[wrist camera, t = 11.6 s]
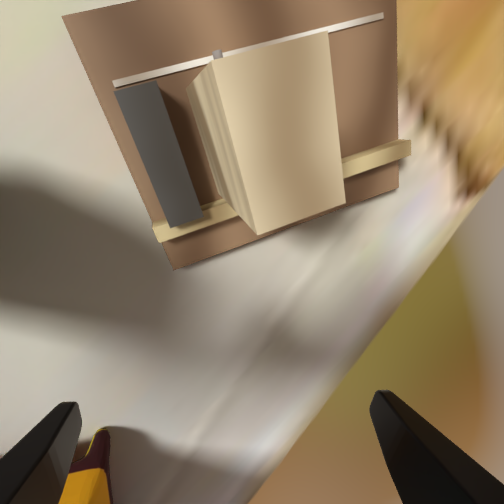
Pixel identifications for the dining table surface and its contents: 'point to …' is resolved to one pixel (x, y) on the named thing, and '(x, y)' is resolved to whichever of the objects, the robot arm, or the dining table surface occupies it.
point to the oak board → (181, 114)
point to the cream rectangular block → (272, 130)
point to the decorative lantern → (90, 475)
